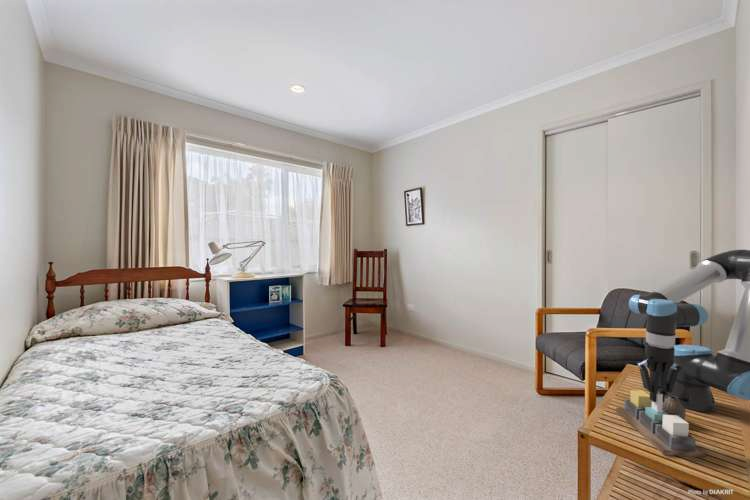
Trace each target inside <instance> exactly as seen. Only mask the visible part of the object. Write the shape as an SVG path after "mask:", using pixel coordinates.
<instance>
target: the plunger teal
mask: <svg viewBox="0 0 750 500" xmlns="http://www.w3.org/2000/svg"><path fill="white" fill-rule="evenodd" d="M645 414H646V415H647V416H649V417H650V418H651V419H652V420H653V421H663V415H668V414H667V413H665V412H664V411H663V410H662V413H658V412H656V411H655V410H653V409H652V408H651V407H645Z"/></svg>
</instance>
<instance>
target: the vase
mask: <svg viewBox="0 0 750 500" xmlns="http://www.w3.org/2000/svg"><path fill="white" fill-rule="evenodd" d="M662 410H663V411H664V412H665V413H667V414H668V415H678V416H679V417H680V418H682V419H683V420H685V419H686V416H687V414H686V412H687V411H686V408H684V406H683V405H682V404H681V403H680V401H679V400H678V398H677V397H675V396H669V397H668V398H667V399H666V398H665V401H664V402H662Z"/></svg>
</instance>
